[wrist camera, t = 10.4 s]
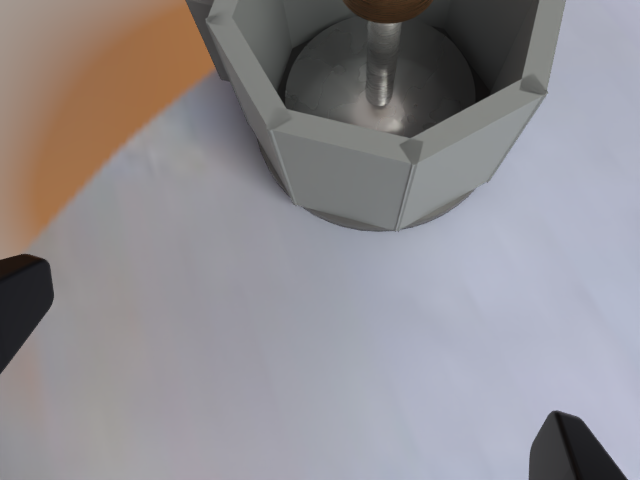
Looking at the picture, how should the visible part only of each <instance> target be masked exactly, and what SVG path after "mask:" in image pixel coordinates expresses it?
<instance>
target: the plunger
mask: <svg viewBox="0 0 640 480" xmlns="http://www.w3.org/2000/svg"><path fill="white" fill-rule="evenodd" d="M432 1H433V0H343V2H344V4H345V5H346V6H347V7H348V8H349V9H350V10H351V11H352V12H353V13H354V14H356V15H357V16H355V17H352V18H349V19H346V20H343V21H341V22H338V23H336V24H334V25H332V26H330V27H329V28H327V29H325V30H324V31H322V32H321V33H320V34H318V35H317V36H316V37H314V38H313V39H312V40H311V41H310V42H309V43H308V44H307V45H306V46H305V47H304V49H303V50H302V51H301V53H300V54H299V55H298V57H297V59H296V60H295V62H294V64H293V66H292V68H291V71H290V73H289V76H288V80H287V84H286V91H285V107H286V109H288V110H292V111H297V112H301V113H305V114H309V115H314V116H318V117H322V118H326V119H331V120H335V121H339V122H343V123H347V124H352V125H356V126H360V127H364V128H369V129H373V130H377V131H381V132H386V133H390V134H394V135H398V136H403V137H407V138H412V137H414V136H416V135H418V134H420V133H421V132H423V131H425V130H427V129H429V128H431V127H433V126H435V125H436V124H438V123H440V122H442V121H444V120H446V119H448V118H450V117H451V116H453V115H455V114H457V113H459V112H461V111H463V110H464V109H466V108H468V107H470V106H472V105H474V104H475V94H476V93H475V85H474V80H473V76H472V73H471V70H470V68H469V66H468V63H467V61H466V60H465V58H464V56H463V55H462V53H461V52H460V50H459V49H458V48H457V47H456V46H455V44H454V43H453V42H452V41H451V40H450V39H448V38H447V37H446V36H445V35H444V34H443V33H441V32H440V31H438V30H437V29H435V28H434V27H432V26H430V25H428V24H426V23H424V22H422V21H419V20H416V19H414V17H416V16H417V15H419V14H421V13H422V12H423V11H424V10H426V9H427V8H428V7H429V5H430V4H431V3H432Z"/></svg>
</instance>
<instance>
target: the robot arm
mask: <svg viewBox="0 0 640 480" xmlns="http://www.w3.org/2000/svg"><path fill="white" fill-rule="evenodd" d="M53 299H54V291H53V284H52V277H51V269H50V265H49V263H48V261H47V260H45V259H43V258H40V257H36V256H33V255H30V254H21V255H17V256H13V257H9V258H6V259H2V260H0V374H1V373H2V371H3V370H4V369H5V368H6V366H7V365H8V364H9V362H10V361H11V360H12V358H13V357H14V356H15V354H16V353H17V352H18V350H19V349H20V348H21V346H22V345H23V344H24V342H25V341H26V340H27V338H28V337H29V336H30V334H31V333H32V332H33V330H34V329H35V328H36V326H37V325H38V323H39V322H40V321H41V319H42V318H43V317H44V315H45V314H46V313H47V311H48V310H49V309H50V307H51V305H52V302H53ZM529 480H628V479H627V478H626V477H625V475H624V474H623V473H622V471H621V470H620V469H619V467H618V466H617V465H616V463H615V462H614V461H613V459H612V458H611V457H610V456H609V454H608V453H607V452H606V450H605V449H604V448H603V446H602V445H601V444H600V442H599V441H598V440H597V439H596V437H595V436H594V435H593V433H592V432H591V431H590V429H589V428H588V427H587V425H586V424H585V423H584V422H583V421H582V419H580V418H579V417H577V416H574V415H571V414H567V413H564V412H561V411H552V412H551V413H550V414H549V415H548V417H547V418H546V420H545V422H544V424H543V425H542V427H541V429H540V431H539V432H538V434H537V436H536V438H535V440H534V441H533V444H532V446H531V450H530V459H529Z"/></svg>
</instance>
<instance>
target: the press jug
mask: <svg viewBox="0 0 640 480" xmlns="http://www.w3.org/2000/svg"><path fill="white" fill-rule="evenodd" d="M186 2H187V5H188V7H189V9H190V11H191V14H192V16H193V18H194V20H195V23H196V25H197V27H198V29H199V32H200V34H201V36H202V38H203V40H204V42H205V45H206V47H207V49H208V52H209V54H210V56H211V58H212V61H213V63H214V65H215V67H216V70H217V72H218V74H219V76H220V79H221V80H225V81H229V82H231V84H232V87H233V89H234V92H235V94H236V96H237V99H238V101H239V103H240V106H241V108H242V111H243V113H244V115H245V118H246V120H247V123H248V125H250V126H251V128H252V129H253V131H254V133H255V135H256V137H257V140H258V143H259V146H260V150H261V152H262V155H263V157H264V159H265V162H266V164H267V166H268V168H269V170H270V172H271V174H272V175H273V177H274V178H275V180H276V181H277V183H278V184H279V185H280V187H281V188H282V189H283V190H284V191H285V192H286V193H287V194H288V196H289V197H291V199H292V202H293V204H294V205H295V206H297V205H298V206H301V207H303V208H304V209H306V210H307V211H309V212H310V213H312V214H313V215H315V216H317V217H319V218H321V219H324V220H326V221H328V222H330V223H333V224H336V225H339V226H342V227H346V228H351V229H356V230H362V231H377V232H379V231H395V232H396V231H398V232H399V230H401V229H406V228H412V227H415V226H418V225H421V224H424V223H427V222H429V221H432V220H434V219H436V218H438V217H440V216H442V215H444V214H445V213H447V212H449V211H450V210H452V209H453V208H455V207H456V206H458V205H459V204H460V203H461V202H462V201H464V200H465V199H466V198H467V197H468V196H469V195H470V194H471V193H472V192H473V191H474V190H475V189H476V188H477V187H479V186H480V185H482V184H484V183H486V182H487V183H488V182H489V181H490V180H491V178H492V177H493V175H494V174H495V172H496V171H497V169H498V168H499V166H500V165H501V163H502V162H503V160H504V159H505V157H506V155H507V154H508V152H509V151H510V149H511V148H512V146H513V145H514V143H515V142H516V140H517V139H518V137H519V136H520V134H521V133H522V131H523V130H524V128H525V127H526V125H527V124H528V122H529V121H530V119H531V118H532V116H533V115H534V113H535V112H536V110H537V109H538V107H539V106H540V104H541V103H542V101H543V100H544V98H545V97H546V95H547V94H548V92H547V87H548V82H549V78H550V73H551V68H552V63H553V59H554V54H555V49H556V44H557V40H558V35H559V30H560V25H561V21H562V16H563V11H564V7H565V2H566V0H433V1H432V3H431V4H430V5H429V7H428V8H427V9H426V10H424V11H423V12H422V13H421V14H419V15H417V16H416V17H414V19H416V20H419V21H422V22H424V23H426V24H428V25H430V26H432V27H434V28H435V29H437V30H438V31H440V32H441V33H443V34H444V35H445V36H446V37H447V38H448V39H450V40H451V41H452V42H453V43H454V44H455V46H456V47H457V48H458V49H459V50H460V52H461V53H462V55H463V56H464V58H465V60H466V61H467V63H468V66H469V68H470V70H471V73H472V76H473V80H474V85H475V93H476V94H475V104H474V105H472V106H470V107H468V108H466V109H464V110H463V111H461V112H459V113H457V114H455V115H453V116H451V117H450V118H448V119H446V120H444V121H442V122H440V123H438V124H436V125H435V126H433V127H431V128H429V129H427V130H425V131H423V132H421V133H420V134H418V135H416V136H414V137H412V138H407V137H403V136H398V135H394V134H390V133H386V132H381V131H377V130H373V129H369V128H364V127H360V126H356V125H352V124H347V123H343V122H339V121H335V120H331V119H326V118H322V117H318V116H314V115H309V114H305V113H301V112H297V111H292V110H288V109H286V107H285V91H286V84H287V80H288V76H289V73H290V71H291V68H292V66H293V64H294V62H295V60H296V59H297V57H298V55H299V54H300V53H301V51H302V50H303V49H304V47H305V46H306V45H307V44H308V43H309V42H310V41H311V40H312V39H313V38H314V37H316V36H317V35H318V34H320V33H321V32H322V31H324V30H325V29H327V28H329V27H330V26H332V25H334V24H336V23H338V22H341V21H343V20H346V19H349V18H352V17H355V16H357V15H356V14H354V13H353V12H352V11H351V10H350V9H349V8H348V7H347V6H346V5H345V4H344V2H343V0H186Z"/></svg>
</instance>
